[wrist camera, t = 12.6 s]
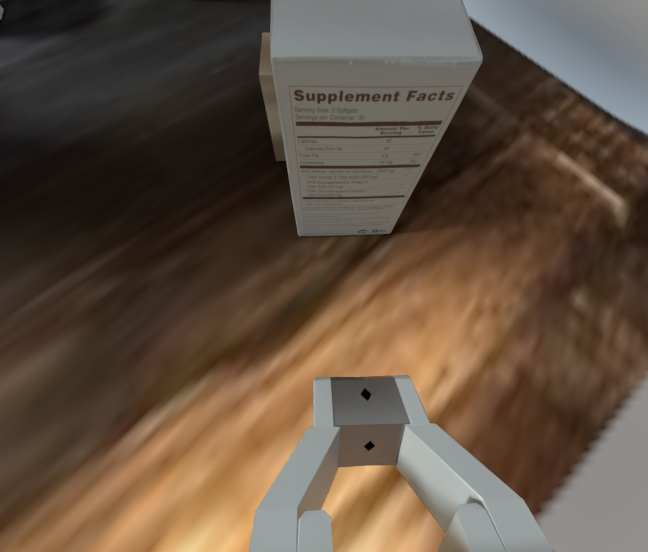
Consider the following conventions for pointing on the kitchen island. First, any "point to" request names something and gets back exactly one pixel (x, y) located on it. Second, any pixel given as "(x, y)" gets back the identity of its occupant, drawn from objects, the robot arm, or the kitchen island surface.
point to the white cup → (1, 12)
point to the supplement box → (365, 102)
